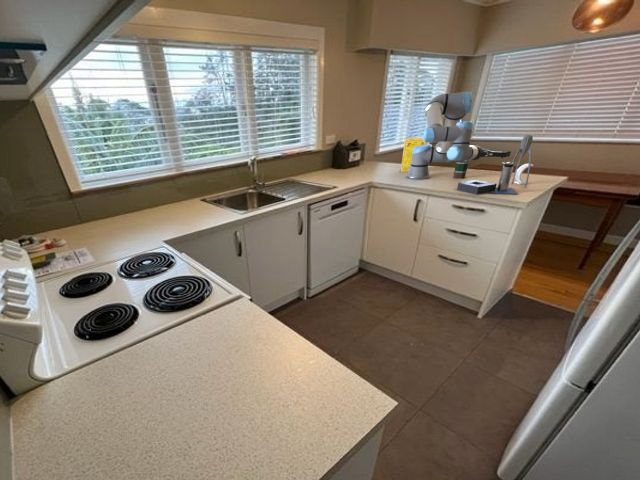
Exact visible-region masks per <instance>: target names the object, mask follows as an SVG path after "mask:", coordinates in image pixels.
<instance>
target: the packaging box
mask: <svg viewBox="0 0 640 480" xmlns="http://www.w3.org/2000/svg"><path fill="white" fill-rule="evenodd" d="M428 144H431V143H430V142H424V141H423V137H408V138H407V139H405V140H404V144H403V153H402V159H401V167H400V172H401V173H402V172H403V173H408V171H409V169H410V167H411V161H412V155H413V154H412V153H413V149H414V148H415V147H416V146H420V145H428Z"/></svg>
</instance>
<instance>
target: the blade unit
mask: <svg viewBox="0 0 640 480" xmlns="http://www.w3.org/2000/svg"><path fill="white" fill-rule="evenodd" d="M502 164H503V166H502V169H501V174H500V177H499V181H498V183H497V186H496V187H497V190H498V191H507V188H509V184H510V181H511V177H512V174H513V171H514V164H515V165H518V162H514V163H512V161H507V162H502Z"/></svg>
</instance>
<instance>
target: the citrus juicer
mask: <svg viewBox="0 0 640 480" xmlns="http://www.w3.org/2000/svg"><path fill="white" fill-rule="evenodd" d="M533 139H534V138H533V135H531V134H526V135H524V136H523V138H522V140H521V141H520V148H518V150H517V152H516V154H514V156H513V157H514V158H513V159H512V161H511V163H515V161H516V159H517V157H518V155H519V154H520V156H519V158H518V161H517V164H516V167H515V171H514V174H513V176H512V179H511V185H512V184H514V182H515V175H516V172H517V169H518V168H519V167H520V166H519V165H520V162H521V160H522V158H523V157H524V156H525V155H526V153H528V163H529V166H528V168H527V172H526V173H527V174H526V179H525V182H526V183H525V184H524V188H525V189H526V188H527V185H528V184H527V183H529V177H530V172H531V167H532V166H531V164H532V147H531V145H532V143H533ZM530 147H531V148H530Z"/></svg>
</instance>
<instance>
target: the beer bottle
mask: <svg viewBox="0 0 640 480" xmlns="http://www.w3.org/2000/svg"><path fill="white" fill-rule="evenodd" d="M469 161H470V160H467V161H465V160H463V161H455V167H454V172H453V176H452V177H453V179H458V180H459V179H460V180H461V179H465V178H466V175H467V171H468V167H469Z"/></svg>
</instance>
